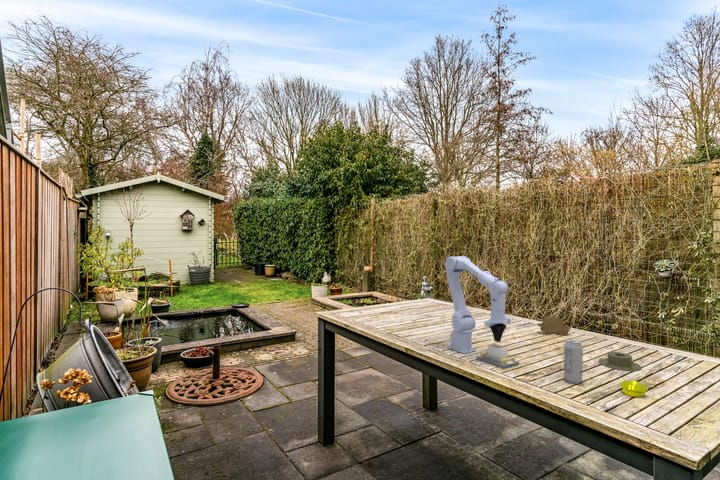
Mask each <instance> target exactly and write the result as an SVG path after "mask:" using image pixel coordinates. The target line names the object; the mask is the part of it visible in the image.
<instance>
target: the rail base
mask: <svg viewBox="0 0 720 480" xmlns="http://www.w3.org/2000/svg"><path fill="white" fill-rule="evenodd" d="M476 360H477V361H480V362H482V361H483V362H484V363H485V364H489V365H490V366H494V367H497V368H499V367H500V368H499V369H503V370H505V369H508V368H512V367H516V366H519V365H520V362H519V361H516V357H515V356H508V358H506V359H502V360H497V359H494V358H491V357H488V351H484V352H480V355H479V356H476ZM483 362H482V363H483Z"/></svg>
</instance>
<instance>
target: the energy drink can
mask: <svg viewBox="0 0 720 480" xmlns="http://www.w3.org/2000/svg"><path fill="white" fill-rule="evenodd" d="M563 346H564V347H563V379H564V380H565V381H566V382H567V383H569V384H574V385H580V384H581V382H583V359H584V358H583V351H584V349H583V348H584V347H583V345H582V342H581V341H580V340H578V339H571V338H569V339H566V340H565V342H564V344H563Z"/></svg>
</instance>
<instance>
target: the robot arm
mask: <svg viewBox="0 0 720 480" xmlns="http://www.w3.org/2000/svg"><path fill="white" fill-rule="evenodd" d="M444 266H445V270H446V279H447V283H448V288H449V291H450V292H449V293H450V295H451V299H452V304H453V307H454V313H453V314H452V316H451V320H452V322H451V325H452V328H453V330H451V333H450V347H448V348H449V350H452V351H454V352H455V351H456V352H458V353H461V354H467V353H472V352H476V349H474V348H472V347H473V346H472V343H473V342H472V340H473V338H472V337H473V336H472V333H473V330H474V329H475V327H476V319H475V318H474V317H473V314H472V312H471V311H469V310H468V309H467V305H466V301H465V297H464V293H463V292H464V291H463V288H462V284H461V281H460V275H461V274H462V273H463V272H465V270H466V271H467V272H468V273H471V275H473V276H474V277H476V278H477V281H478V282H479V283H480V284H481V285H483V286H484V287H485V288H486V289H487V291H488V292H489V295H490V296H489V298H490V319H487V320H485V321H484V327H488V328H489V329H490V330H491V332H492V336H493V339H494V342H497V343H500V342H501V341H502V338H503V334H504V331H505V330H506V328H507V323H508V324H510V323H512V322H511V321H512V320H511V319H512V318H511V317H506V294H507V293H508V291H509V285H508V283H507V282H506V281H505V280H499V278H498V277H495V276H494V275H493V274H491V272H490V271H488V270H487V271H486V270H483V271H482V270H481V269H480V268H479V267H478V266H477V265H476V264H474V263H473V262H472V261H471V259H470V258H469V257H468V256H466V255H461V256H459V255H458V256H448V257H447V258H446V259H445V262H444Z"/></svg>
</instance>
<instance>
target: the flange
mask: <svg viewBox="0 0 720 480" xmlns="http://www.w3.org/2000/svg"><path fill="white" fill-rule="evenodd" d="M598 363H599V364H600V365H601V366H603V367H606V368H607V369H612V370H616V371H623V372H639V371H640V372H641V370H642V366H641V365H640V364H638V363H636V362H634V361H633V355H631V354H629V353H624V352H620V351H608V352H607V357H603V358H599V359H598Z"/></svg>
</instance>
